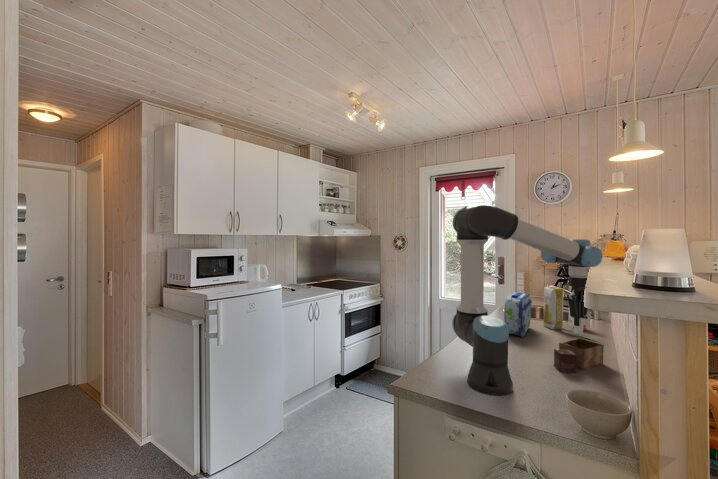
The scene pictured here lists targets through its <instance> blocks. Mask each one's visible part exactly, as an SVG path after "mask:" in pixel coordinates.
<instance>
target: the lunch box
mask: <svg viewBox="0 0 718 479" xmlns="http://www.w3.org/2000/svg"><path fill="white" fill-rule="evenodd" d="M503 312H504V313H503V316H504V317H503V319H504V320H503V321H504V322H505V323H506V324H507V326H508V332H509V335H515V336H518V337H520V338H521V337H522V338H523V337H525V335H526V333H527V331H528V329H529V328H530V325H531V316H532V299H531V294H530V293H525V292H513V293H512V294H510V295H509V296H508V297H506V299H505V303H504V310H503Z"/></svg>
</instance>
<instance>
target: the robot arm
mask: <svg viewBox="0 0 718 479" xmlns="http://www.w3.org/2000/svg"><path fill="white" fill-rule="evenodd" d="M452 227H453V230H454V231H455V232H456V241H457V242H458V243H459V244H460V304H458V306H457V307H456V313H455V315H453V318H452V321H451V326H452V330H453V332H454V333H455V335H456V336H457V337H458V338H459V339H460V340H461V341H463V342H465V343H466V344H468V345H469V346H471V347H472V363H471V365H470V366H469V370H468V373H467V377H466V378H467V380H466V382H467V385H468V386H469V387H470V388H472V389H473V390H475V391H477V392H479V393H482V394H485V395H486V394H487V395H491V396H503V395H508V394H511V393H512V392H513V389H514V382H513V379H512V376H511V373H510V369H509V337H510V334H509V332H508V326H507V324H506V323H505V322H504V320H503V319H501V318H498V317H494V316H491V315H488V313H489V312H488V308H486V306H484V292H485V291H484V285H485V284H484V282H485V280H484V277H485V276H484V275H485V274H484V271H485V268H484V267H485V266H484V265H485V264H484V263H485V262H484V261H485V259H484V258H485V244H486V243H487V242H488V241H489V237H494V238H498V239H501V240H503V241H504V240H505V241H507V240H512V241H515V242H517V243H520V244H522V245H525V246H529V247H531V248H533V249H536V250H538V251H540V257H541V259H542V261H544V262H545V263H548V264H549V263H550V264H563V265H568V275H569V276H568V281H567V282H568V286H570V287H571V290H570V293H568V294H567V295H566V297H567V299H568V300H567V301H568V309H569V308H570V316H571V317H574V328H573V333H576V334H580V335H583V334H584V330H583V318H586V319H587V316H588V309H589V308H588V309H586V308H585V307H584V302H583V295H584V289H585V284H586V280H587V276H588V272H589V269H590V270H591V268H594V267H597V266H599V265H600V264H601V263H602V261H603V252H602V250H601V249H600V248H599V247H597V246H594V245H591V241H590V239H583V238H580V239H579V238H577V239H576V238H571V239H569V238H566V237H564V236H562V235H559V234H557V233H554V232H552V231H549V230H547V229H545V228H542V227H539V226H537V225H534V224H532V223H530V222H527V221H524V220H522V219H519V215H517V214H515V213H512V212H510V211H508V210H506V209H502V208H500V207H498V206H494V205H491V204H487V203H482V204H475V205H474V204H473V205H467V206H464V207H461V208H459V209H458V210H457V211H456V212H455V214H454V215H453V217H452Z"/></svg>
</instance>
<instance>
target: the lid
mask: <svg viewBox="0 0 718 479" xmlns="http://www.w3.org/2000/svg"><path fill="white" fill-rule="evenodd" d="M560 331H561V332H563V333H566V334H568V335H570V336H574V337H577V338H580V339H584V340H588V341H591V342H595V343H598V344H602V345H604V344H605V342H603V341H601V340H598V339H596V338H592V337H590V336H587V335H583V334H577V333H574V332H572V331H568V330H564V329H560Z"/></svg>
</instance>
